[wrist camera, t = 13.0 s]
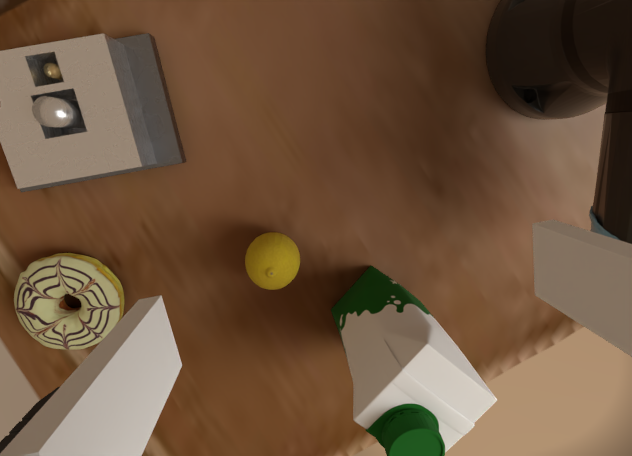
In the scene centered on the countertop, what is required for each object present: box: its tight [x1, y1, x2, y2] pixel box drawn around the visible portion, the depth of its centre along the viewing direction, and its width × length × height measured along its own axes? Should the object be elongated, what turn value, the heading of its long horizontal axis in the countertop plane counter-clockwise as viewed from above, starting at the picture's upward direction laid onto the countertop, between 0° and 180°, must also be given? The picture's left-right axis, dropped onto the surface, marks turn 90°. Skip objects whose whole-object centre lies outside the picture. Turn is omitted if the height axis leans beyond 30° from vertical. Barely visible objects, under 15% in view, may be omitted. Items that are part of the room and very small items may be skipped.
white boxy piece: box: [0, 34, 156, 189], centre depth 34 cm, size 11×11×4 cm
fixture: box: [20, 33, 186, 192], centre depth 34 cm, size 16×12×7 cm
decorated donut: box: [14, 253, 125, 349], centre depth 40 cm, size 10×11×4 cm
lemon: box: [245, 232, 300, 290], centre depth 39 cm, size 6×6×8 cm
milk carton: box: [331, 266, 497, 456], centre depth 35 cm, size 9×9×20 cm
